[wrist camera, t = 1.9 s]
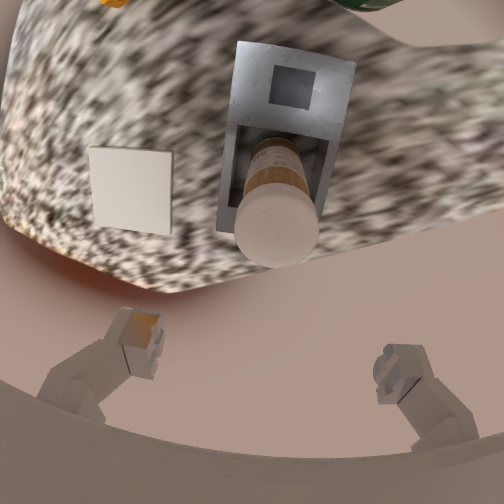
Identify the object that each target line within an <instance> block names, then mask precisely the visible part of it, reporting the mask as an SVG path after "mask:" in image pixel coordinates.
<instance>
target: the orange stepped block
mask: <svg viewBox="0 0 504 504" xmlns="http://www.w3.org/2000/svg"><path fill="white" fill-rule="evenodd" d="M100 1H101V3H102V4H103V5H107V6H111V7H115V8H120V7H121V6H122V5H124V4H125V3H126V2H128V1H129V0H100Z"/></svg>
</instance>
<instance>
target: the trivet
mask: <svg viewBox="0 0 504 504" xmlns="http://www.w3.org/2000/svg"><path fill="white" fill-rule="evenodd" d="M89 165H90V178H91V190H92V199H93V208H94V216H95V224H96V225H100V226H106V227H113V228H120V229H127V230H134V231H140V232H147V233H154V234H161V235H167V236H170V235H171V233H172V171H173V151H167V150H155V149H141V148H126V147H106V146H90V147H89Z"/></svg>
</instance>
